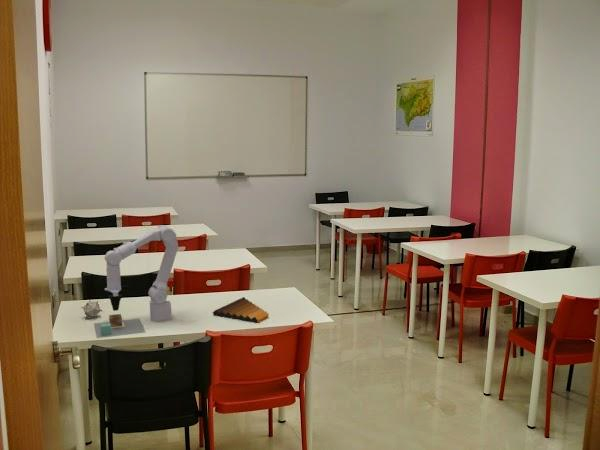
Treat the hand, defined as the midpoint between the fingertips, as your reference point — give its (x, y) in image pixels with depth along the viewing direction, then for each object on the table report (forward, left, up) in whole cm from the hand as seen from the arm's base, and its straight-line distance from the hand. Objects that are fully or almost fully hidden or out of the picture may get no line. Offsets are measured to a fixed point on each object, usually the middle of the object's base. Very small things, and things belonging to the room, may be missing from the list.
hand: (114, 307), depth 267 cm
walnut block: (0, 0, -8) cm, 8 cm away
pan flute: (-62, 0, -10) cm, 63 cm away
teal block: (+5, +10, -8) cm, 14 cm away
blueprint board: (-1, +4, -9) cm, 10 cm away
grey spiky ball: (+9, -18, -9) cm, 22 cm away
